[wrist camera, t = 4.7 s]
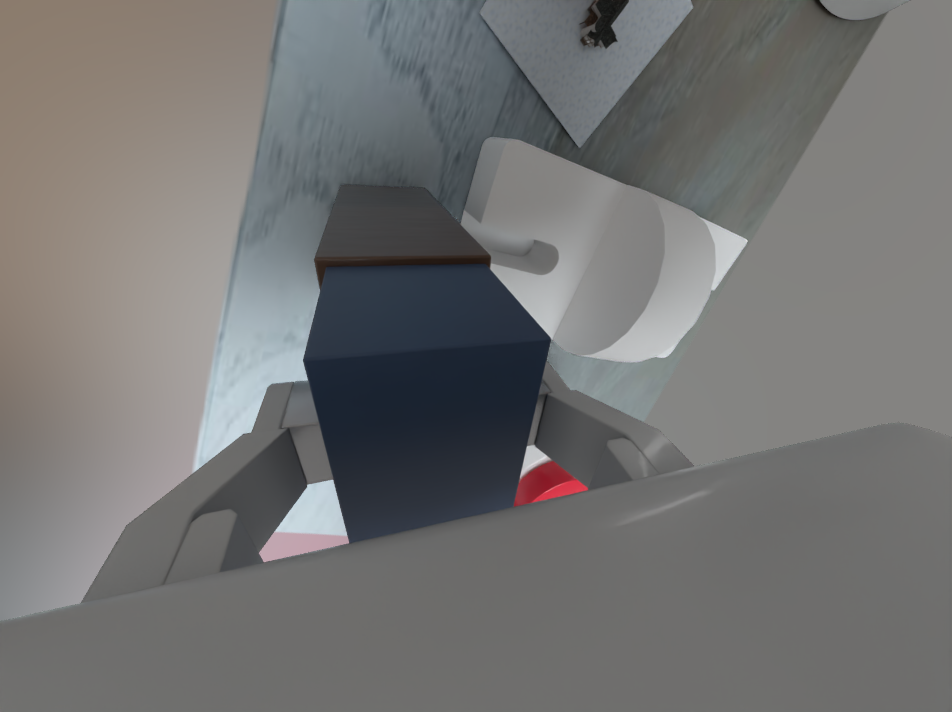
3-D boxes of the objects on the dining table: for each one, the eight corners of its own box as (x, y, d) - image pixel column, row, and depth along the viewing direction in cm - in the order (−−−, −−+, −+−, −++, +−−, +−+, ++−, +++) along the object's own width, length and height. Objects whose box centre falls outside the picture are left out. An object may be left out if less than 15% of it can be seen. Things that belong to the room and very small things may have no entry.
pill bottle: (482, 344, 25) (545, 459, 17) (560, 365, 29) (646, 470, 20) (443, 419, 29) (479, 549, 20) (517, 430, 32) (576, 545, 23)
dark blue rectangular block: (325, 266, 8) (301, 359, 5) (486, 263, 9) (552, 338, 6) (356, 441, 11) (354, 565, 8) (471, 424, 12) (509, 527, 9)
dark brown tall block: (339, 184, 17) (313, 257, 8) (425, 187, 19) (492, 255, 9) (355, 299, 21) (349, 446, 11) (426, 296, 22) (475, 427, 13)
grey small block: (612, -201, 13) (646, -244, 11) (692, 7, 17) (724, -4, 16) (478, 12, 15) (491, -1, 14) (579, 148, 19) (597, 150, 18)
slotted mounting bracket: (637, 335, 29) (724, 402, 22) (439, 298, 22) (475, 378, 15) (706, 223, 25) (842, 263, 18) (485, 133, 18) (565, 138, 11)
